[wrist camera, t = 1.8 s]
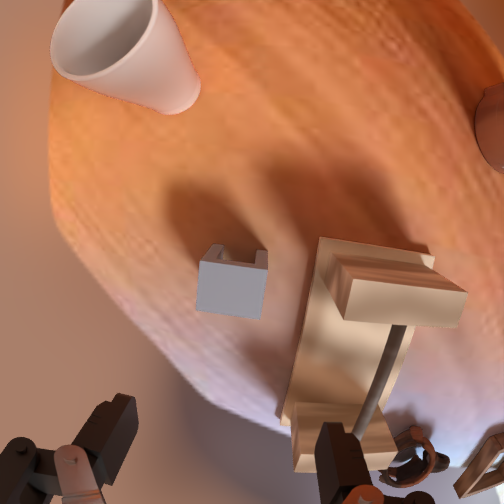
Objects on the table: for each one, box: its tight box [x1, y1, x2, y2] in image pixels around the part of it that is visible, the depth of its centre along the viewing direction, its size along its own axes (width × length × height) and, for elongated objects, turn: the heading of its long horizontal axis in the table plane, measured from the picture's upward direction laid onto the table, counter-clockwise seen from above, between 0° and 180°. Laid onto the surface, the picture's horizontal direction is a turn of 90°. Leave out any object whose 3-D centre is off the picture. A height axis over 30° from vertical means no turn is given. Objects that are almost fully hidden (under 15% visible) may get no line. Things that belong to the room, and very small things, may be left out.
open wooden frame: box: [453, 433, 504, 499], centre depth 34 cm, size 14×14×4 cm
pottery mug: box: [378, 426, 450, 488], centre depth 32 cm, size 12×10×8 cm
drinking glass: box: [50, 0, 201, 115], centre depth 19 cm, size 7×7×15 cm
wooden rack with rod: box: [280, 237, 468, 473], centre depth 27 cm, size 22×12×9 cm, turn 173°
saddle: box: [196, 243, 268, 320], centre depth 27 cm, size 4×5×6 cm
